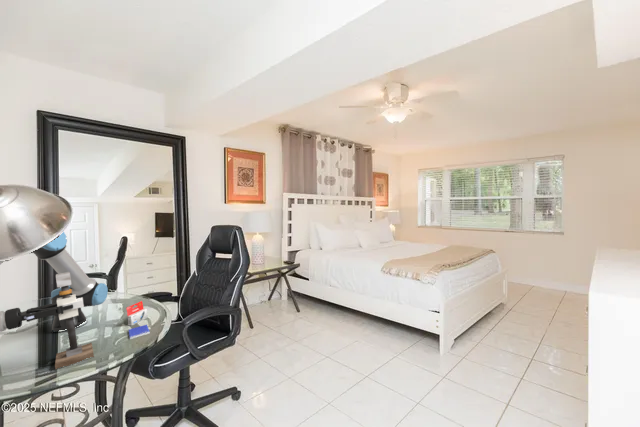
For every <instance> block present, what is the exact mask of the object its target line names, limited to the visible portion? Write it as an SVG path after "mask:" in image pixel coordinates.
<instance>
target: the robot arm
mask: <svg viewBox="0 0 640 427" xmlns="http://www.w3.org/2000/svg"><path fill="white" fill-rule="evenodd" d="M67 242H68V238H67V234H66V233H65V232H64V231H63V233H62V234H61V235H60V236H59V237H58V238H56V239H55V240H53V241H52V242H50V243H48V244H47V245H45V246H44V247H42V248H40V249H38V250H35V251H33V252H31V253H30V254H33V255H35V256H36V257H37V258H38V259H39V260H41V261H42V260H44V261H46V263H48V264H49V265H50V267H52V268H53V270H54V271H55V272H56V273H57V274H61V273H67V272H70V277H71V285H68V286H69V289H72V293H70V295H74V294H76V301H77V302H72V303H68V304H64V305H63V306H58V307H57V298H61V297H62V295H59V291H61V287H58V288H56V289H54V290H52V291H51V293H50V296H51V298H50V300H51V303H49V304H45V305H41V306H40V305H39V306H36V307H31V308H28V309H26V311H25V310H24V311H21V308H20V307H14V308H10V309H6V310H5V311H4V310H0V333H1V332H5V331H6V330H8V331H9V330H13V329H17V328H20V327H21V326H22V325H23V322H24V321H25V322H27V323H28V322H29V323H30V322H32V321H35V320H40V319H43V318H48V317H51V316H53V321H52V324H51V331H52V330H54V331H59V330H65V329H67V324H66V319H62V320H59V314H60V313H61V314H63V311H68V310H72V309H76V308H78V316H74V317H73V319H74V326H75V327H77V326H79V325H80V324H82V323H83V322H85V321H86V319H87V317H86V315H85V314H84V312H83V310H82V308H84V307H85V308H86V307H95V306H99V305H102V304H103V303H104V302H106V301H107V300H106V299H107V297H108V294H109V291H108V290H109V289H108V286H107V284H106V283H104V282H103V283H102V282H100V283H99V282H98V281H97V280H96V279H94V278H92V277H89V276H88V275H87V274H86V272H85V271H84V270H83V269H82V268H81V266H80V265H79V264H78V262H76V261H75V259H74V258H73V257H72V256H71V254H70V253H69V252H68V251H67V250H66V248H67ZM11 260H12V259H10V260H5V261H0V265H2V264H3V263H5V262H9V261H11Z"/></svg>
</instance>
